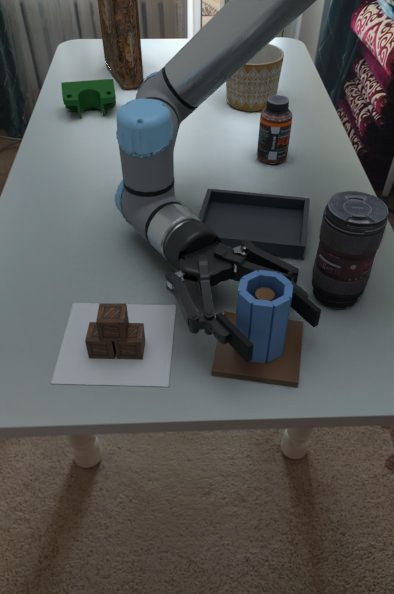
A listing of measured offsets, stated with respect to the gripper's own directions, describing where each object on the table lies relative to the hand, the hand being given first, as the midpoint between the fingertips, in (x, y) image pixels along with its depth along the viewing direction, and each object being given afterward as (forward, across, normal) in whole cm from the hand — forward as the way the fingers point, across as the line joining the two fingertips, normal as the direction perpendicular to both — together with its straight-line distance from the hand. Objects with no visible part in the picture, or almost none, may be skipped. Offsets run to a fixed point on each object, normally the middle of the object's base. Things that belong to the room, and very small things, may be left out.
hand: (284, 335), depth 66 cm
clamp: (-81, -13, -7) cm, 82 cm away
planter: (-65, -45, -7) cm, 79 cm away
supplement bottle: (-43, -33, -7) cm, 55 cm away
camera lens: (-7, -16, -7) cm, 19 cm away
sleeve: (-4, 0, -6) cm, 7 cm away
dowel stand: (-4, 0, -6) cm, 8 cm away
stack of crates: (-16, +15, -7) cm, 23 cm away
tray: (-27, -16, -6) cm, 32 cm away
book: (-94, -28, -7) cm, 98 cm away
